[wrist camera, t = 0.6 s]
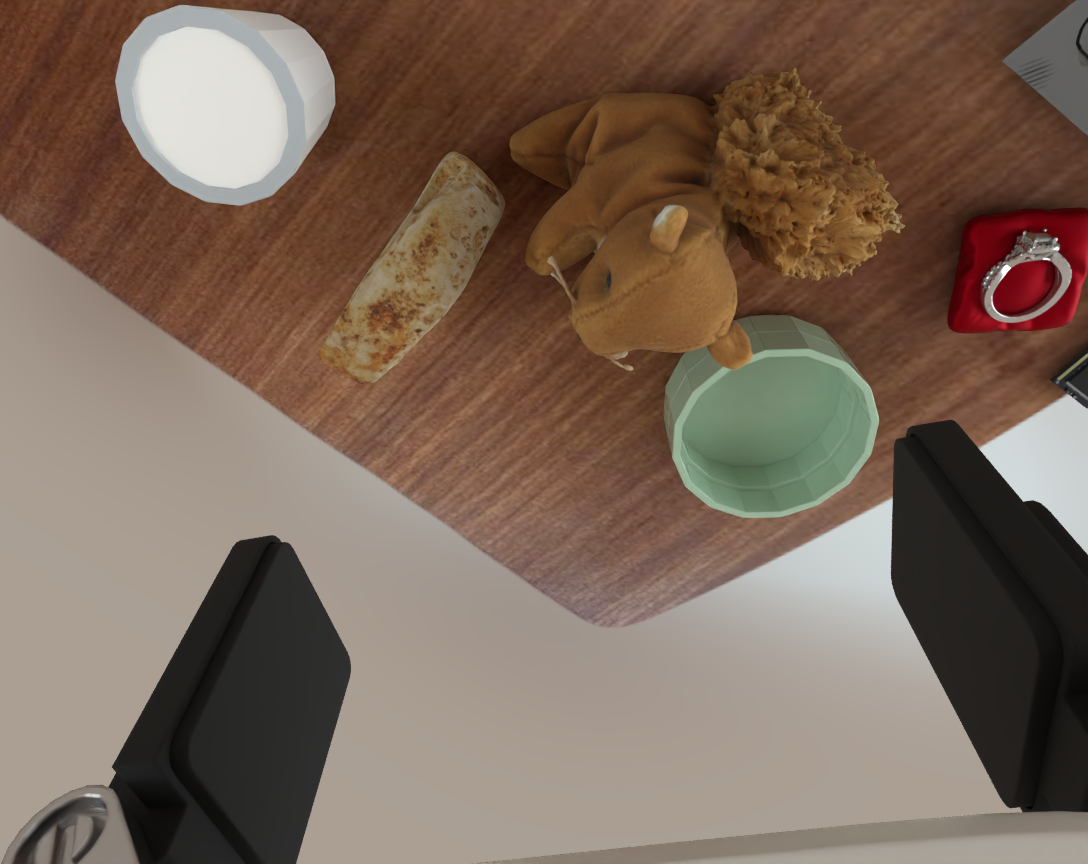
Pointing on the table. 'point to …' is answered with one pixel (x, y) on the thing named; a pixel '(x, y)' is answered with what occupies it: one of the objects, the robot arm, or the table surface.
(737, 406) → the green bowl
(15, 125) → the table surface
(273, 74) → the white round jar
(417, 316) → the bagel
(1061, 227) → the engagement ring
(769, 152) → the stuffed squirrel
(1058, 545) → the robot arm
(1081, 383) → the computer memory module
